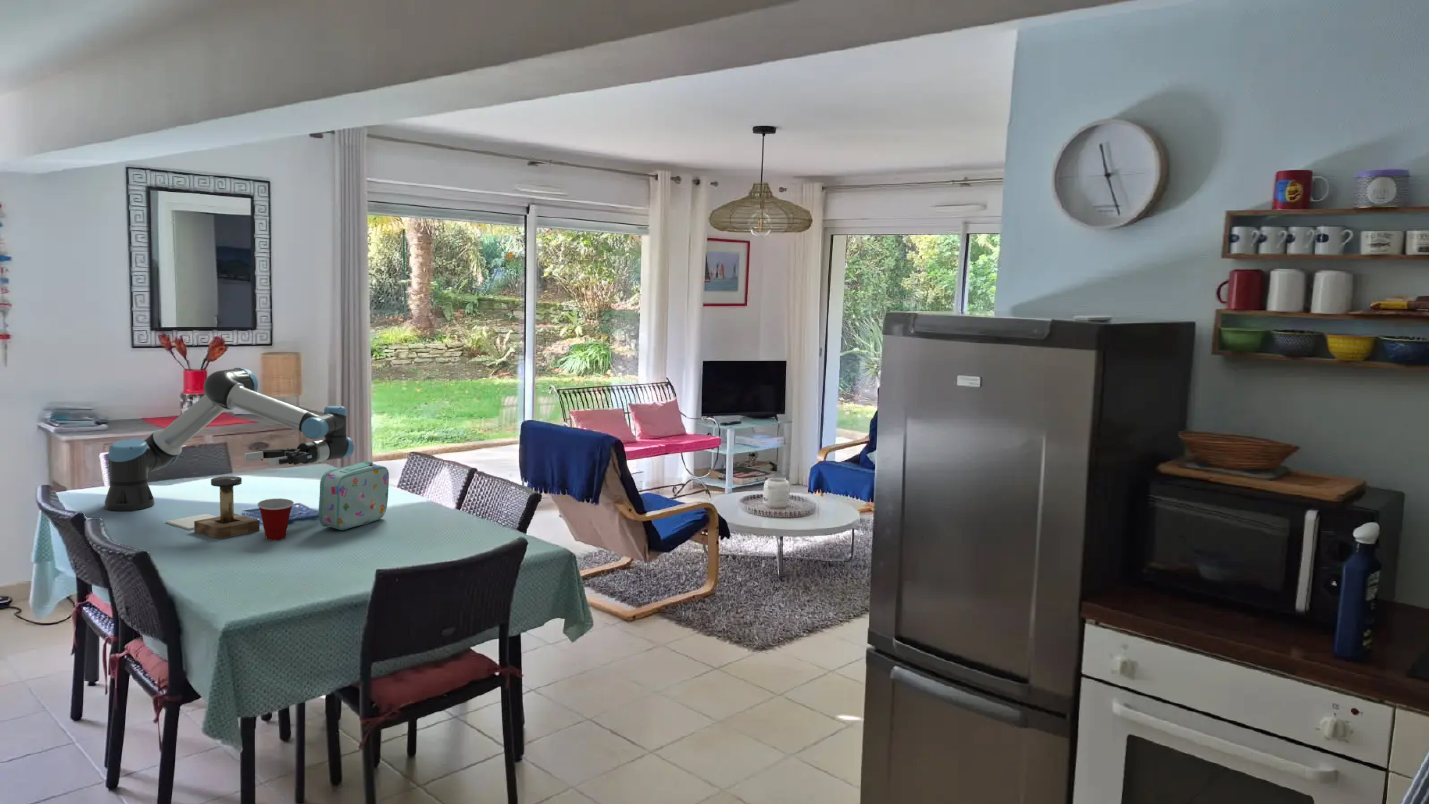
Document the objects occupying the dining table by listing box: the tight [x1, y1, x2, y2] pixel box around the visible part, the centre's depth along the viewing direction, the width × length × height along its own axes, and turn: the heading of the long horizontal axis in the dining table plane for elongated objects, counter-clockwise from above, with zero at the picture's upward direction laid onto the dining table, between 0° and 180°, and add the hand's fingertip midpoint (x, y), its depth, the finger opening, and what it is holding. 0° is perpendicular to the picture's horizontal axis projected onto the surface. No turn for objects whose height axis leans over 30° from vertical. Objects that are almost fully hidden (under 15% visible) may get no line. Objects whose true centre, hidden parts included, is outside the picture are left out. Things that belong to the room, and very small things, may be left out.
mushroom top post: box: [210, 475, 243, 524], centre depth 316 cm, size 9×9×18 cm
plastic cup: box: [256, 498, 294, 541], centre depth 310 cm, size 11×11×12 cm
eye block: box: [193, 513, 261, 540], centre depth 316 cm, size 14×14×4 cm
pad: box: [165, 513, 217, 531], centre depth 325 cm, size 14×14×1 cm
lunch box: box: [317, 460, 390, 531], centre depth 332 cm, size 27×10×21 cm, turn 160°
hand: (256, 460), depth 323 cm, fingers open, 13 cm apart
